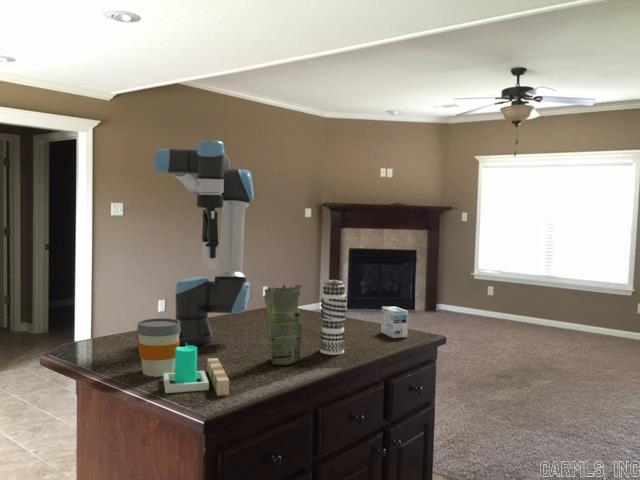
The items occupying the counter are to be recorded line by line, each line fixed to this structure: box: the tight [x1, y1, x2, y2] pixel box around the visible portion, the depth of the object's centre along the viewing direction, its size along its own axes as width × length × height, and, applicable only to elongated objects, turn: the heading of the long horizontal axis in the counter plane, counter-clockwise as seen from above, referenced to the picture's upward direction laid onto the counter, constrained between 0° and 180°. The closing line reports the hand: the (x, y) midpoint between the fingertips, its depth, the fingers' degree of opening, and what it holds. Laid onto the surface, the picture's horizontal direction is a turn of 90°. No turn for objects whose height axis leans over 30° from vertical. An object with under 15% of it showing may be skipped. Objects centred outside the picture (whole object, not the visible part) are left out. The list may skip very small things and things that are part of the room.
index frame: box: [162, 370, 210, 394], centre depth 154 cm, size 11×11×2 cm
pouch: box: [264, 284, 303, 366], centre depth 180 cm, size 11×12×25 cm
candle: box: [174, 343, 198, 384], centre depth 154 cm, size 6×6×12 cm
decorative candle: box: [319, 279, 348, 356], centre depth 194 cm, size 9×9×25 cm
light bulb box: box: [380, 305, 409, 339], centre depth 223 cm, size 11×7×11 cm, turn 22°
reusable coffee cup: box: [136, 317, 181, 378], centre depth 165 cm, size 13×13×15 cm
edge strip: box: [206, 357, 230, 397], centre depth 157 cm, size 22×3×4 cm, turn 18°
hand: (209, 266), depth 163 cm, fingers open, 13 cm apart
